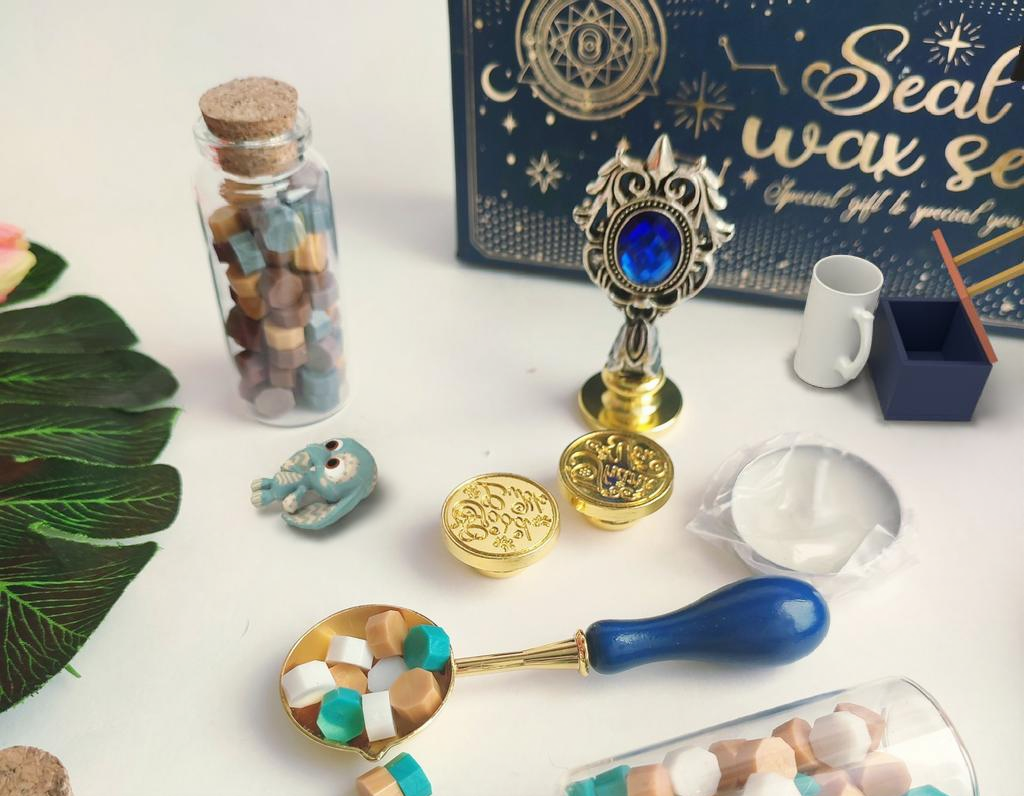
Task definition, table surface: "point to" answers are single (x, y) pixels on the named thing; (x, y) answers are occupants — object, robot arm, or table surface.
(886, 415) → the blue open box
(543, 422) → the table surface
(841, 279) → the mug
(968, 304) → the lid
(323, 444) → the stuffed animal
